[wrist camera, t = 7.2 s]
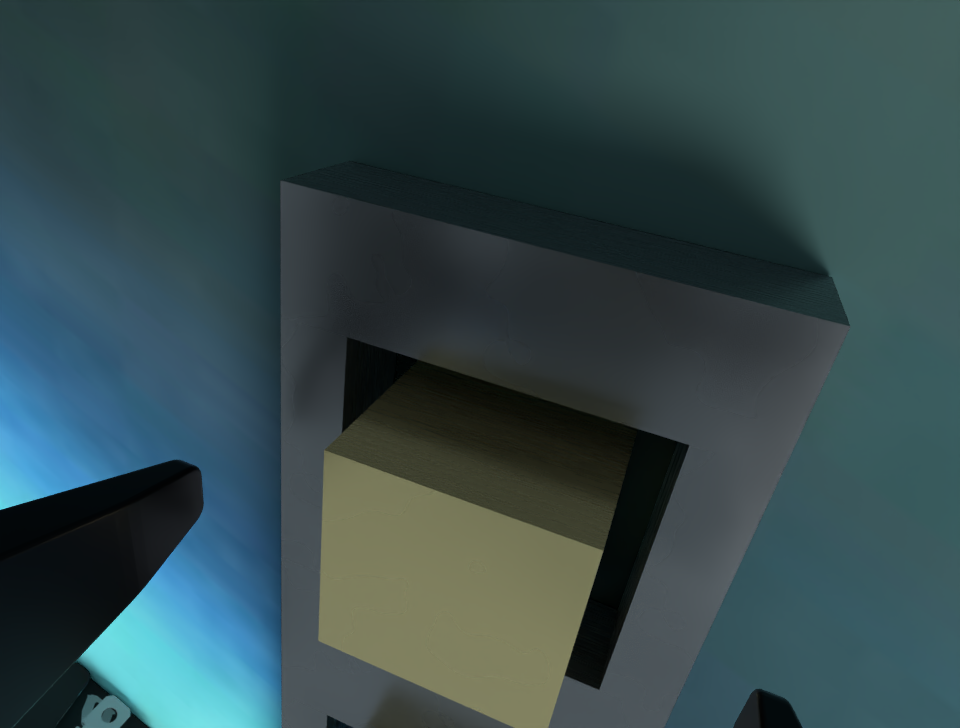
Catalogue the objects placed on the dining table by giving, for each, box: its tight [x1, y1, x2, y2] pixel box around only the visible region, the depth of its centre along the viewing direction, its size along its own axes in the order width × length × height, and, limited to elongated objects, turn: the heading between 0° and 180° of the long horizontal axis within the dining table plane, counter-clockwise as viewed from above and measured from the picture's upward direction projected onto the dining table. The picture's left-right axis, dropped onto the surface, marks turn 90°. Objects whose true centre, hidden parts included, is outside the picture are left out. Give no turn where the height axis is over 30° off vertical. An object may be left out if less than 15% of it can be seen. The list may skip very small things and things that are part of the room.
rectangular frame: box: [280, 161, 850, 728], centre depth 14 cm, size 20×8×2 cm, turn 171°
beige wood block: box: [318, 360, 638, 728], centre depth 11 cm, size 4×4×4 cm
